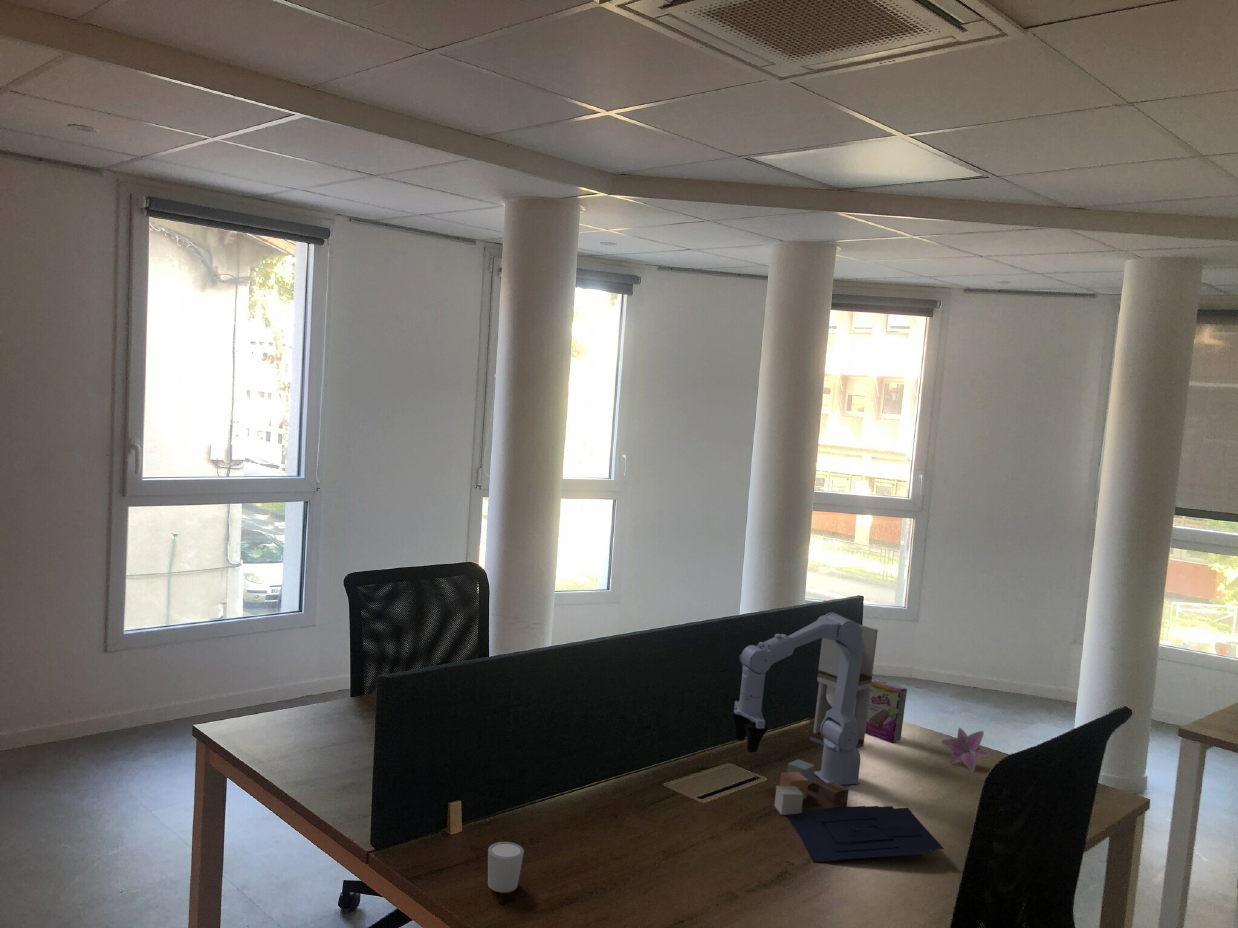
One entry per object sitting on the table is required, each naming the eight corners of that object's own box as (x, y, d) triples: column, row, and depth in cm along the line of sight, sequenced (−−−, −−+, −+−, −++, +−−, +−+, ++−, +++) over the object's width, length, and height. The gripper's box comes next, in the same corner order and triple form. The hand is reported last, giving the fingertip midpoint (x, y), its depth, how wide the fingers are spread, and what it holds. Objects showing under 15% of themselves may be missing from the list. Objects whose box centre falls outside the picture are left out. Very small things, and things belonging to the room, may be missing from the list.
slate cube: (795, 777, 251) (798, 758, 251) (812, 783, 248) (814, 765, 248) (786, 781, 248) (788, 763, 247) (803, 788, 244) (805, 769, 244)
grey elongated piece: (810, 739, 281) (823, 623, 278) (830, 733, 288) (844, 620, 286) (842, 753, 273) (857, 633, 270) (863, 746, 280) (877, 629, 277)
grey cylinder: (485, 874, 186) (489, 840, 186) (521, 876, 187) (524, 842, 186) (483, 893, 179) (487, 857, 179) (520, 895, 180) (523, 859, 179)
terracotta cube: (796, 790, 243) (798, 771, 242) (806, 799, 238) (808, 779, 237) (778, 791, 241) (781, 772, 240) (788, 800, 236) (791, 780, 236)
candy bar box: (859, 732, 292) (866, 680, 291) (868, 729, 296) (874, 677, 295) (893, 744, 285) (900, 690, 283) (901, 740, 288) (907, 687, 287)
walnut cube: (831, 800, 239) (833, 781, 238) (846, 808, 234) (848, 789, 234) (817, 803, 236) (819, 784, 235) (832, 812, 232) (834, 792, 231)
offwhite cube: (793, 806, 233) (796, 786, 232) (801, 814, 228) (803, 794, 227) (774, 805, 232) (776, 785, 231) (781, 814, 227) (783, 793, 227)
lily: (934, 758, 279) (936, 735, 274) (965, 740, 283) (967, 717, 278) (965, 785, 270) (967, 762, 265) (996, 767, 274) (999, 744, 269)
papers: (948, 865, 207) (948, 849, 207) (813, 874, 205) (813, 858, 204) (904, 814, 232) (904, 800, 231) (783, 822, 229) (783, 807, 229)
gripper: (726, 684, 247) (720, 735, 248) (748, 703, 233) (742, 757, 234) (751, 684, 249) (745, 735, 250) (775, 703, 235) (768, 756, 236)
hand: (745, 745), depth 242 cm, fingers open, 7 cm apart
